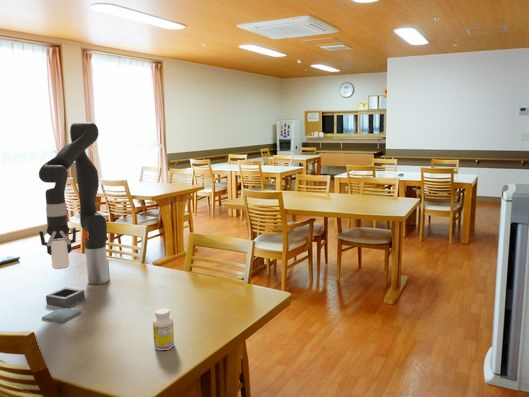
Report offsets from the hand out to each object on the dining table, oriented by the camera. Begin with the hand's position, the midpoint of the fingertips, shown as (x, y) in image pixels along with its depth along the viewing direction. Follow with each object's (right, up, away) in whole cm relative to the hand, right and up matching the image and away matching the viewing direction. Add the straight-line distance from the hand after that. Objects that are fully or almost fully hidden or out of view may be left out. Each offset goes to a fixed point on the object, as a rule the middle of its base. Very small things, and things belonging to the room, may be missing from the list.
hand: (59, 253), depth 191 cm
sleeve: (0, -21, +6) cm, 22 cm away
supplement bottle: (+51, -28, -35) cm, 68 cm away
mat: (+5, -24, -9) cm, 26 cm away
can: (0, -6, +1) cm, 6 cm away
